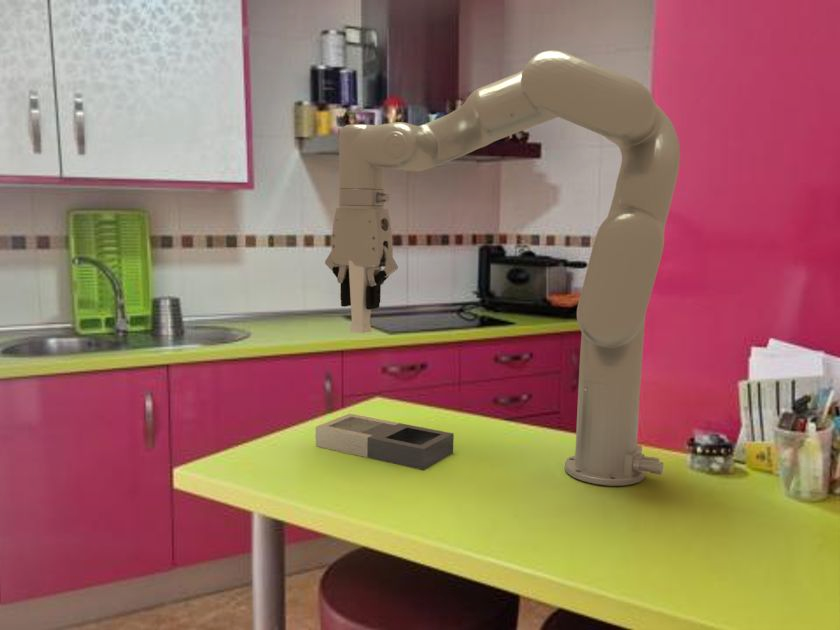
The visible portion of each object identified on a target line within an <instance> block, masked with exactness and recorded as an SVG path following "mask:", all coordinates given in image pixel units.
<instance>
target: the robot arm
mask: <svg viewBox="0 0 840 630" xmlns="http://www.w3.org/2000/svg"><path fill="white" fill-rule="evenodd" d="M557 118H560V119H563V120H566V122H567V121H568V122H570V123H571V124H574V125H577V126H579V127H581V128H584V129H587V130H588V131H591V132H594V133H596V134H598V135H600V136H602V137H605V139H607V140H608V141H610V142H611V143H613V144H615V145H616V146H617V147H618V148H619V150H620V153H621V162H620V168H619V171H618V176H617V178H616V179H617V180H616V182H615V183H616V184H615V189H614V193H613V196H612V200H611V204H610V209H609V211H608V214H607V217H606V218H605V219H604V220H603V221H602V223H601V224H600V225H599V227H598V229H597V231H596V235H595V238H594V241H593V245H592V249H591V252H590V256H589V261H588V265H587V268H586V272H585V276H584V280H583V284H582V287H581V292H580V296H579V299H578V304H577V307H576V322H577V324H578V328H579V330H580V332H581V339H580V354H579V367H578V371H579V372H578V373H579V374H578V389H577V390H578V391H577V392H578V394H577V411H576V413H577V415H576V431H575V432H576V433H575V435H576V436H575V450H574V451H575V453H574V455H572V456H570V457H568V458H567V459H566V460H565V461H564V470H565V472H566V473H567V474H568V475H569V476H571V477H572V478H574V479H577V480H579V481H582V482H583V483H584V482H585V483H589V484H593V485H599V486H612V487H613V486H614V487H618V486H619V487H621V486H629V485H634V484H637V483H641V482H642V481H643V480H645V478H646V472H647V473H650V474H655V475H660V476H661V475H663V472H664V462H661V461H660V458H659V457H653V456H647V455H646V456H645V454H644V453H643V446H642V445H638V434H639V433H638V432H639V431H638V430H639V413H640V400H641V399H640V396H641V381H642V368H643V367H642V366H643V355H644V353H643V350H644V336H645V323H646V313H647V309H648V306H649V303H650V299H651V296H652V292H653V290H654V285H655V282H656V277H657V274H658V270H659V267H660V264H661V259H662V257H663V256H662V255H663V252H664V251H663V250H664V246H665V229H666V228H665V227H666V224H667V220H668V216H669V211H670V209H671V205H672V201H673V196H674V191H675V187H676V184H677V179H678V174H679V170H680V161H681V148H680V142H679V137H678V133H677V131H676V128H675V126H674V125H673V122H672V121H671V119H670V118H669V117H668V115H667V114H666V113H665V111H663V109H661V107H660V106H659V105H658V104H657V103H656V101H655V100H654V97H653V95H652V93H651V92H650V90H649V88H647V87H646V86H645V85H644V84H642V83H641V82H639V81H637V80H635V79H632V78H631V77H628V76H625V75H623V74H621V73H618V72H615V71H613V70H609V69H608V68H606V67H602V66H600V65H597V64H594V63H592V62H589V61H588V60H584V59H582V58H581V57H578V56H575V55H573V54H570V53H568V52H565V51H562V50H556V49H550V50H545V51H544V50H543V51H541V52H538V54H535V55H534V56H532V58H530V60H529V61H528V62H527V63H526V64H525V66H524V67H523V70H521V71H519V72H517V73H514V74H511V75H509V76H506V77H505V78H501V79H499V80H497V81H494V82H491V83H489V84H487V85H483V86H481V87H479V88H477V89H475V90H474V91H472V92H471V94H470V95H468V97H467V98H466V100H465V102H464V103H462V104H461V106H459V107H458V108H456V109H455V110H453V111H452V112H450V113H448V114H445V115H443V116H441V117H438V118H436V119H434V120H431V121H429V122H426V123H423V124H421V125H415V124H412V123H408V122H404V121H399V122H398V121H396V122H389V123H383V124H376V125H374V124H368V123H367V124H366V123H365V124H363V123H361V124H360V123H356V124H355V123H352V124H347V125H344V126H342V127H341V129H340V131H339V139H338V141H339V142H338V145H339V148H338V151H339V153H338V154H339V156H338V157H339V159H338V161H339V164H338V165H339V167H338V168H339V169H338V207H336V209H335V212H334V217H333V224H332V233H331V251H330V253H329V254H328V256H327V257H326V259H325V261H324V264H325V265H326V266H327V267H328V268H329V269H330V270H331V271H332V273H333V274H334V276H335V277H336V279H337V283H339V284H340V294H339V295H340V306H341V307H345V308H346V307H351V297H350V279H349V260H350V261H352V262H353V264H354V265H355V266H360V267H364V268H366V269H367V275H368V280H369V286H367V287H366V308H367V309H368V310H371V311H372V310H377V309H379V308H380V303H381V291H382V290H381V288H382V285H384V283H385V281H386V280H387V279H388V278H389V277H390V275H392V274H393V273H395V272H396V271H398V268H399V266H398V264H397V262H396V261H395V259H394V257H393V256H394V253H393V233H392V231H393V230H392V225H391V218H390V212H389V209H387V208H384V206H385V203H388V202H389V200H390V195H389V194H388V193H385V168H388V169H393V170H399V171H410V172H423V171H427V170H429V169H431V168H435V167H437V166H440V165H443V164H445V163H448V162H451V161H453V160H456V159H458V158H461V157H463V156H465V155H468V154H470V153H473V152H474V151H476V150H478V149H481V148H484V147H486V146H488V145H490V144H492V143H494V142H496V141H499V140H502V139H504V138H507V137H509V136H512V135H514V134H518V133H519V132H522V131H524V130H527V129H530V128H532V127H536V126H537V125H538V126H539V125H540V124H544V123H546V122H549V121H552V120H554V119H557ZM382 267H383V269H382Z"/></svg>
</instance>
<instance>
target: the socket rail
mask: <svg viewBox="0 0 840 630" xmlns="http://www.w3.org/2000/svg"><path fill="white" fill-rule="evenodd" d="M454 435H455V434H454V432H447V431H443V430H437V429H434V428H433V429H432V428H426V427H421V426H416V425H413V424H412V425H411V424H405V423H400V422H396V421H390V420H384V419H381V418H374V417H370V416H363V415H359V414H354V413H347V414H344V415H342V416H340V417H337V418H335V419H332V420H330V421H327V422H324V423H322V424H319V425H316V426H315V447H318V448H323V449H327V450H331V451H337V452H340V453H343V454H344V453H345V454H350V455H354V456H358V457H363V458H366V459H367V458H368V459H371V460H376V461H380V462H385V463H390V464H395V465H399V466H404V467H407V468H412V469H417V470H421V471H425V470H426V469H428V468H430V467H432V466H434V465H436V464H437V463H439V462H440V461H442V460H443V459H445V458H447V457H449V456H451V455H453V454H454Z"/></svg>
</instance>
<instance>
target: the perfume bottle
mask: <svg viewBox="0 0 840 630" xmlns="http://www.w3.org/2000/svg"><path fill="white" fill-rule="evenodd" d="M349 279H350V297H351V306H350V311H351V312H350V315H351V325H350V329H349V333H356V334H366V333H371V332H373V330H372V326H371V313H372V309H371V310H368V309H367V308H366V287H367V286H369V280H368V275H367V269H366V268H364V267H360V266H355V265H354V264H353V262H352V261H350V260H349Z"/></svg>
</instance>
